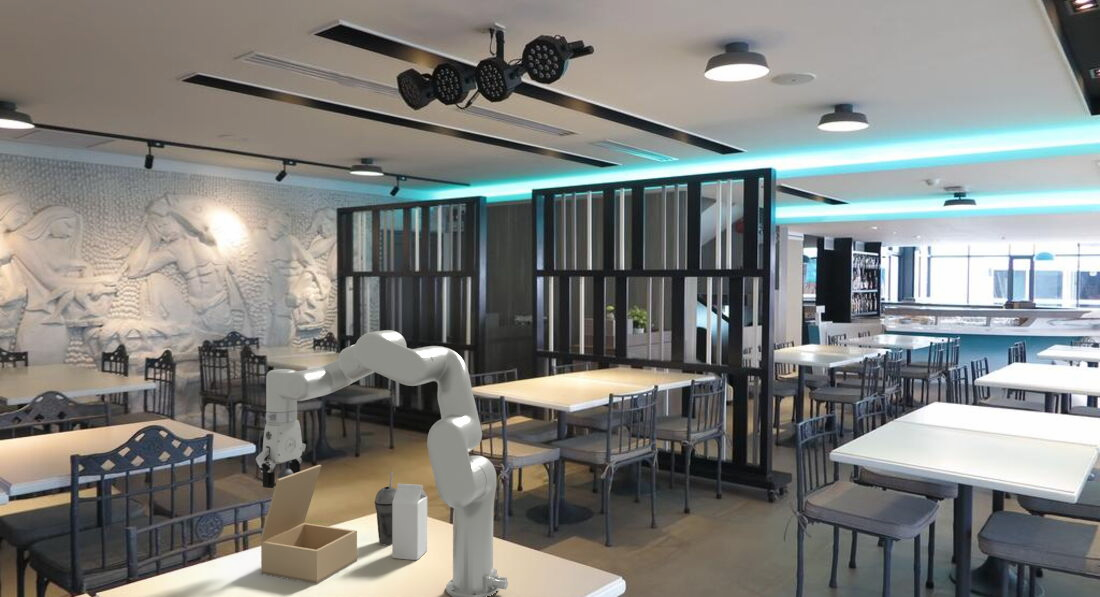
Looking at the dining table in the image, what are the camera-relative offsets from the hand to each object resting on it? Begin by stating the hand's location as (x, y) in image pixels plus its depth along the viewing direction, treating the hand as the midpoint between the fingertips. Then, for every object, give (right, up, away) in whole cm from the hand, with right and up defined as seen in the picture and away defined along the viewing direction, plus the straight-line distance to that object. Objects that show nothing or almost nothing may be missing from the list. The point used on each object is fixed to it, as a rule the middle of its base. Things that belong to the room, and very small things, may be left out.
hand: (281, 482), depth 191 cm
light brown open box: (+8, -21, -3) cm, 23 cm away
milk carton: (+32, -21, +6) cm, 39 cm away
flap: (+3, -5, -1) cm, 6 cm away
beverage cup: (+24, -21, +16) cm, 36 cm away
